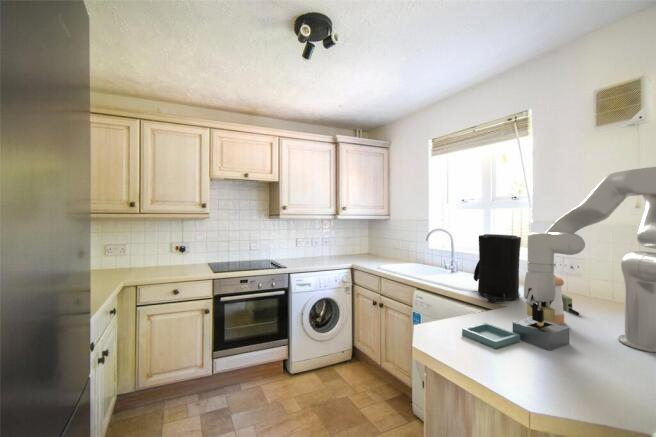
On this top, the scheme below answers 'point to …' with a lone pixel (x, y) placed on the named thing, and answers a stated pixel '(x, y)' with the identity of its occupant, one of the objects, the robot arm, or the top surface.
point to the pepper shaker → (558, 302)
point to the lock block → (542, 334)
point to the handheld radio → (568, 304)
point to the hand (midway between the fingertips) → (540, 320)
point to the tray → (491, 335)
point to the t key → (543, 315)
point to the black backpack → (498, 267)
